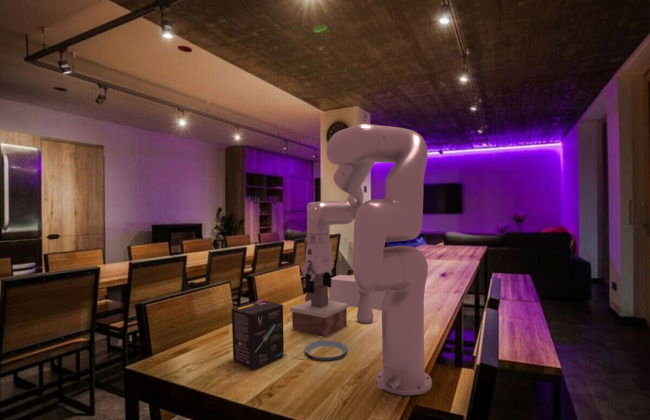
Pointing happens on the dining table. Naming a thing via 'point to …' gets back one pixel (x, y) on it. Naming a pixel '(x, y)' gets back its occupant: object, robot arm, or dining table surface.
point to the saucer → (325, 343)
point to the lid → (319, 304)
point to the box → (319, 323)
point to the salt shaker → (364, 308)
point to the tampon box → (257, 333)
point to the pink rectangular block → (352, 292)
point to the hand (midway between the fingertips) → (318, 289)
